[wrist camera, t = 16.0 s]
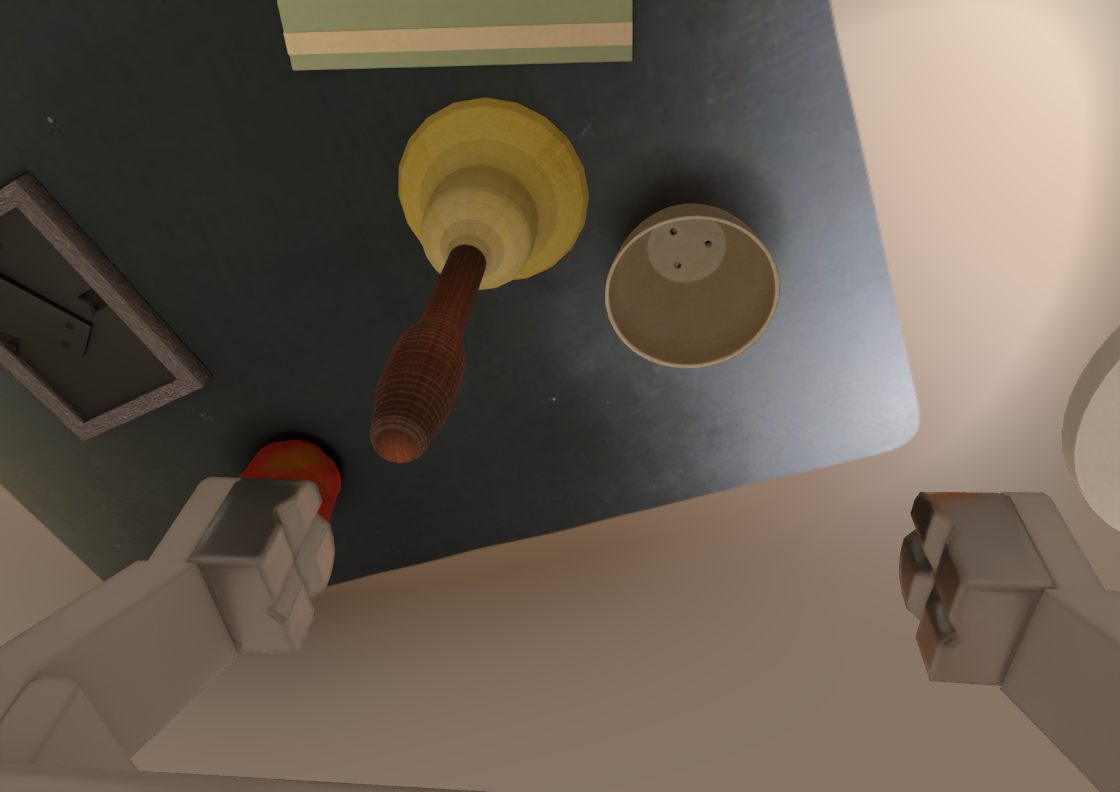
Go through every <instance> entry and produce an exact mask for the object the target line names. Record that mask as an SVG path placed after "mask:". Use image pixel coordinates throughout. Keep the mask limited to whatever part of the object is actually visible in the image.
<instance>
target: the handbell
mask: <svg viewBox="0 0 1120 792" xmlns="http://www.w3.org/2000/svg"><path fill="white" fill-rule="evenodd" d="M399 198H400V201H401V205H402V208H403V211H404V214H405V217H406V221H407V223H408V225H409V226H410V228H411V229H412V231H413V232H414V234H415V235H416V236H417V238H418V239H419V241H420V242H421V244H422V245H423V247H424V251H425V254H426V257H427V258H428V259H429V261H430V262H431V264H432V265H433V267H434V268H435V270H436V271H438V272H439V273H440V277H439V279H438V281H437V283H436V286H435V288H434V290H433V293H432V295H431V297H430V300H429V302H428V304H427V306H426V309H425V311H424V313H423V315H422V317H421V318H420V320H419V322H418V323H416V324H415V325H413V326H412V327H411V328H409V329H408V330H406V331H405V332H404V333H403V334H402V335H401V336H400V338H399V339H398V340H397V342H396V343H395V345H394V348H393V350H392V352H391V354H390V356H389V358H388V360H387V363H386V365H385V368H384V370H383V372H382V374H381V376H380V379H379V381H378V383H377V386H376V390H375V396H374V407H373V414H372V421H371V427H370V439H371V442H372V444H373V447H374V449H375V450H376V452H377V453H378V454H379V455H380V456H382V457H383V458H385V459H386V460H389V461H391V462H396V463H406V462H410V461H412V460H414V459H416V458H419V457H420V456H421V455H422V454H423V453H424V452H425V450H426V449H427V447H428V446H429V444H430V443H431V441H432V440H433V438H434V437H435V435H436V434H437V432H438V431H439V430H440V429H441V427H442V426H443V424H444V423H445V421H446V420H447V418H448V416H449V414H450V412H451V410H452V408H453V406H454V403H455V399H456V396H457V393H458V391H459V388H460V385H461V382H462V378H463V375H464V371H465V362H466V354H465V349H464V344H463V335H464V330H465V327H466V325H467V322H468V319H469V316H470V313H471V310H472V307H473V304H474V301H475V298H476V295H477V293H478V290H483V289H491V288H497V287H499V286H501V285H503V284H505V283H508V282H510V281H511V280H517V279H525V278H529V277H531V276H533V275H535V274H538V273H540V272H542V271H544V270H546V269H549V268H551V267H552V266H554V265H555V264H556V263H557V262H558V261H559V260H560V259H561V258H562V257H563V256H564V255H565V254H567V253H568V252H569V251H570V250H571V249H572V247H573V245H574V244H575V242H576V240H577V238H578V236H579V234H580V232H581V231H582V229H583V227H584V225H585V219H586V213H587V207H588V201H589V193H588V188H587V182H586V176H585V170H584V167H583V165H582V163H581V161H580V159H579V157H578V155H577V153H576V151H575V150H574V148H573V146H572V144H571V142H570V140H569V139H568V138H567V137H566V136H565V135H564V134H563V133H562V132H561V131H560V130H559V129H558V128H557V127H556V126H555V125H554V124H552V123H551V122H550V121H549V120H548V119H547V118H546V117H544V116H542V115H541V114H539V113H537V112H535V111H533V110H531V109H529V108H527V107H525V106H523V105H521V104H519V103H517V102H510V101H504V100H498V99H491V98H479V99H473V100H467V101H461V102H455V103H453V104H451V105H449V106H447V107H445V108H444V109H442V110H440V111H438V112H436V113H435V114H433V115H431V116H429V117H428V118H427V119H426V120H425V121H424V122H423V123H422V125H421V126H420V127H419V128H418V129H417V131H416V132H415V133H414V134H413V135H412V136H411V138H410V139H409V140H408V143H407V146H406V148H405V151H404V154H403V157H402V159H401V162H400V165H399Z"/></svg>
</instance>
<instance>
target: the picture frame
mask: <svg viewBox="0 0 1120 792" xmlns="http://www.w3.org/2000/svg"><path fill="white" fill-rule="evenodd" d="M0 363H1V364H2V365H3V366H4V367H5V368H6V369H7V370H8V371H9V372H10V373H11V374H13V375H14V376H15V377H16V378H17V379H18V380H19V381H20V382H21V383H22V384H23V385H24V386H25V387H26V388H27V389H28V390H29V391H31V392H32V393H33V394H34V395H35V396H36V397H37V398H38V399H39V400H40V401H41V402H42V403H43V404H44V405H45V406H46V407H47V408H49V409H50V410H51V411H52V412H53V413H54V414H55V415H56V416H57V417H58V418H59V419H60V420H61V421H62V422H63V423H64V424H66V425H67V426H68V427H69V428H70V429H71V430H72V431H73V432H74V433H75V434H76V435H77V436H78V437H79V438H80V439H81V440H82V441H86V440H88V439H90V438H92V437H95V436H97V435H99V434H101V433H103V432H106V431H108V430H110V429H112V428H114V427H117V426H119V425H121V424H123V423H125V422H128V421H130V420H132V419H134V418H136V417H139V416H141V415H143V414H145V413H147V412H150V411H152V410H154V409H156V408H158V407H161V406H163V405H165V404H167V403H169V402H172V401H174V400H176V399H178V398H180V397H183V396H185V395H187V394H189V393H191V392H194V391H196V390H198V389H200V388H202V387H204V386H205V384H206V383H207V382H208V380H209V379H210V378H211V376H212V374H211V373H210V372H209V371H208V370H207V369H206V367H205V366H204V365H203V364H202V363H201V362H200V361H199V360H198V359H197V357H196V356H195V355H194V354H193V353H192V352H191V351H190V350H189V349H188V347H187V346H186V345H185V344H184V343H183V342H182V341H181V340H180V339H179V337H178V336H177V335H176V334H175V333H174V332H173V331H172V330H171V329H170V327H169V326H168V325H167V324H166V323H165V322H164V321H163V320H162V319H161V317H160V316H159V315H158V314H157V313H156V312H155V311H154V310H153V309H152V307H151V306H150V305H149V304H148V303H147V302H146V301H145V300H144V299H143V297H142V296H141V295H140V294H139V293H138V292H137V291H136V290H135V289H134V287H133V286H132V285H131V284H130V283H129V282H128V281H127V280H126V279H125V277H124V276H123V275H122V274H121V273H120V272H119V271H118V270H117V269H116V267H115V266H114V265H113V264H112V263H111V262H110V261H109V260H108V259H107V257H106V256H105V255H104V254H103V253H102V252H101V251H100V250H99V249H98V247H97V246H96V245H95V244H94V243H93V242H92V241H91V240H90V238H89V237H88V236H87V235H86V234H85V233H84V232H83V231H82V230H81V228H80V227H79V226H78V225H77V224H76V223H75V222H74V221H73V220H72V218H71V217H70V216H69V215H68V214H67V213H66V212H65V211H64V210H63V208H62V207H61V206H60V205H59V204H58V203H57V202H56V201H55V200H54V198H53V197H52V196H51V195H50V194H49V193H48V192H47V191H46V190H45V188H44V187H43V186H42V185H41V184H40V183H39V182H38V181H37V180H36V178H35V177H34V176H33V175H32V174H31V173H30V172H28V173H27V174H25V175H23V176H22V177H20V178H18V179H17V180H15V181H13V182H12V183H10V184H9V185H7V186H6V187H4V188H2V189H1V190H0Z"/></svg>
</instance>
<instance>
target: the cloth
mask: <svg viewBox="0 0 1120 792" xmlns="http://www.w3.org/2000/svg"><path fill="white" fill-rule="evenodd" d="M277 3H278V8H279V12H280V16H281V21H282V25H283V29H284V33H283V34H284V38H285V42H286V47H287V51H288V55H290V60H291V64H292V68H293V70H327V69H363V68H400V67H437V66H474V65H510V64H547V63H584V62H621V61H632V40H633V0H277Z"/></svg>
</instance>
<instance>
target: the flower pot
mask: <svg viewBox="0 0 1120 792" xmlns="http://www.w3.org/2000/svg"><path fill="white" fill-rule="evenodd" d="M670 231H673V232H674V235H673V234H671V232H670ZM706 241H710V242H709V243H705V242H706ZM679 264H681V266H680V267H679V268H678V265H679ZM779 290H780V286H779V276H778V272H777V268H776V265H775V262H774V260H773V258H772V256H771V254H770V252H769V251H768V249H767V248H766V246H765V245H764V243H763V242H762V241H761V239H760V238H759V237H758V236H757V235H756V234H755V232H754V231H753V230H752V229H751V228H749V227H748V226H747V225H746V224H745V223H744V222H743V221H741V220H740V219H738V218H737V217H735V216H734V215H732V214H730V213H729V212H727V211H725V210H722V209H720V208H717V207H714V206H710V205H705V204H697V203H688V204H679V205H675V206H671V207H668V208H665V209H663V210H660V211H658V212H656V213H655V214H653V215H651V216H650V217H648V218H647V219H645V220H644V221H643V222H642V223H640V224H639V225H638V226H637V227H636V228H635V229H634V230H633V231H632V232H631V233H630V235H629V236H628V237H627V238H626V240H625V241H624V243H623V244H622V246H621V247H620V249H619V250H618V252H617V254H616V256H615V258H614V260H613V262H612V265H611V268H610V270H609V274H608V277H607V281H606V287H605V304H606V309H607V314H608V317H609V320H610V322H611V325H612V326H613V328H614V330H615V332H616V333H617V335H618V336H619V337H620V339H621V340H622V341H623V342H624V343H625V344H626V345H627V346H628V347H629V348H630V349H631V350H633V351H634V352H635V353H637V354H638V355H640V356H642V357H643V358H645V359H647V360H649V361H652V362H654V363H657V364H661V365H664V366H668V367H674V368H701V367H707V366H711V365H715V364H719V363H722V362H724V361H727V360H729V359H731V358H733V357H735V356H737V355H739V354H740V353H742V352H743V351H745V350H746V349H748V348H749V347H750V346H751V345H753V344H754V343H755V342H756V341H757V340H758V339H759V338H760V336H761V335H762V334H763V333H764V332H765V330H766V329H767V327H768V325H769V324H770V322H771V320H772V318H773V316H774V314H775V311H776V308H777V304H778V299H779Z"/></svg>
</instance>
